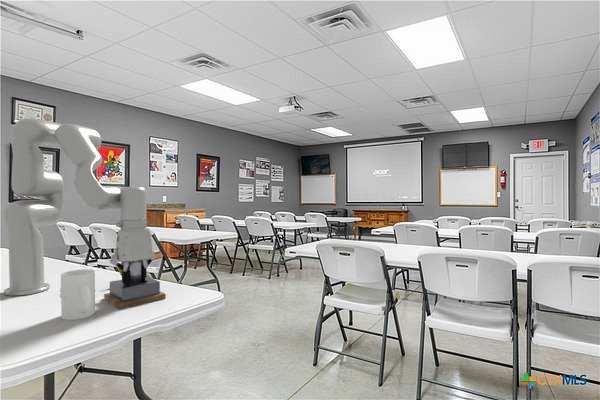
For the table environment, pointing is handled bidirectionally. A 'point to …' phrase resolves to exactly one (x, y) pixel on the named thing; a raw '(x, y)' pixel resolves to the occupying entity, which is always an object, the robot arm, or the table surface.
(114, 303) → the dock board
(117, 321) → the table surface
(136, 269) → the steel peg
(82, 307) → the mug
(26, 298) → the table surface
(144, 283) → the socket block
